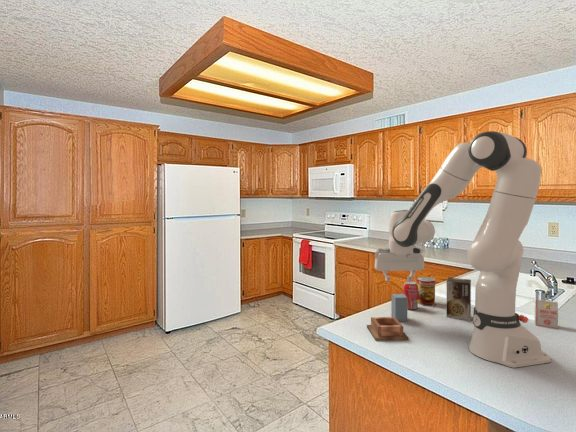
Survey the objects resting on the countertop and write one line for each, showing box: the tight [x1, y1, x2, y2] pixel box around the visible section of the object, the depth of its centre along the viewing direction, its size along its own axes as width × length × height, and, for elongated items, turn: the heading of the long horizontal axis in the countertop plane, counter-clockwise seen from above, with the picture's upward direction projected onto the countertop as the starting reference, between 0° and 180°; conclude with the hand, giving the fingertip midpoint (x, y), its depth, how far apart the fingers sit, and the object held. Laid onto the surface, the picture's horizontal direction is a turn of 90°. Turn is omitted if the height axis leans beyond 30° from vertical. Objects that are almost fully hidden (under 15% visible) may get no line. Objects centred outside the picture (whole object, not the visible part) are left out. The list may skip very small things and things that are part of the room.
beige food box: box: [534, 299, 559, 330], centre depth 127 cm, size 4×7×10 cm, turn 58°
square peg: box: [390, 293, 408, 322], centre depth 136 cm, size 5×5×10 cm
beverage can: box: [402, 280, 419, 310], centre depth 150 cm, size 6×6×12 cm
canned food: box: [416, 276, 436, 307], centre depth 156 cm, size 8×8×12 cm
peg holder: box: [366, 316, 409, 341], centre depth 122 cm, size 12×12×4 cm
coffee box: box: [445, 276, 472, 322], centre depth 138 cm, size 9×6×16 cm
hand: (398, 280), depth 136 cm, fingers open, 8 cm apart
